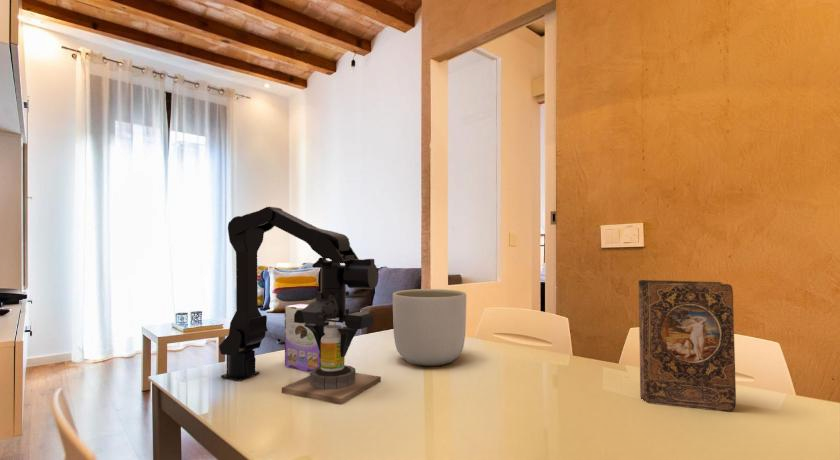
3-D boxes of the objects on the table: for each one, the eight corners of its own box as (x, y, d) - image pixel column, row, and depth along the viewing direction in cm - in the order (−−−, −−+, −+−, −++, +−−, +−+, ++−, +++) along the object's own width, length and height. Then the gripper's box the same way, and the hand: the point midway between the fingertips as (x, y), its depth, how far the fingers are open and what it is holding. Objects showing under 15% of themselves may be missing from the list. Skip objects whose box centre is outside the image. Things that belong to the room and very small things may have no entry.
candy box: (336, 369, 113) (336, 306, 114) (320, 375, 109) (320, 309, 109) (300, 361, 121) (300, 302, 121) (283, 366, 116) (283, 305, 116)
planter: (470, 371, 111) (469, 297, 112) (389, 371, 111) (389, 297, 112) (463, 351, 132) (462, 288, 133) (395, 351, 132) (395, 288, 133)
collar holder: (281, 393, 95) (281, 376, 96) (326, 373, 110) (326, 358, 110) (341, 404, 89) (341, 386, 89) (380, 381, 103) (380, 366, 103)
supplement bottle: (339, 372, 96) (339, 329, 96) (316, 371, 97) (316, 328, 98) (347, 366, 101) (348, 324, 102) (326, 364, 103) (326, 323, 103)
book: (642, 402, 90) (640, 281, 90) (638, 393, 95) (636, 279, 95) (736, 412, 84) (733, 284, 85) (726, 402, 89) (723, 281, 90)
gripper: (277, 288, 97) (276, 359, 96) (346, 293, 89) (346, 370, 88) (310, 284, 107) (309, 348, 106) (374, 288, 99) (374, 356, 98)
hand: (332, 355), depth 100 cm, fingers closed on supplement bottle, 5 cm apart
